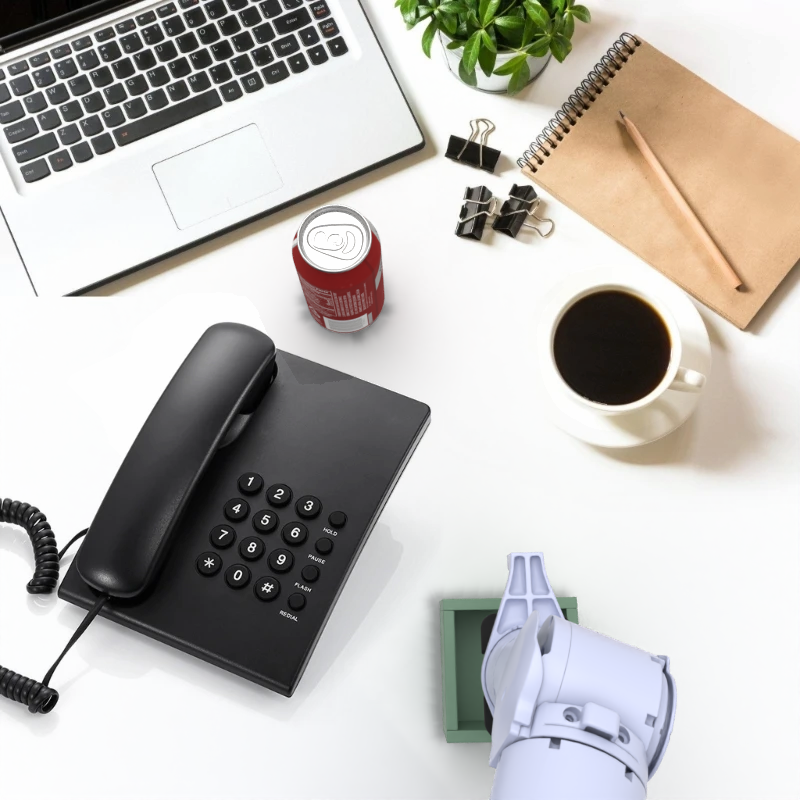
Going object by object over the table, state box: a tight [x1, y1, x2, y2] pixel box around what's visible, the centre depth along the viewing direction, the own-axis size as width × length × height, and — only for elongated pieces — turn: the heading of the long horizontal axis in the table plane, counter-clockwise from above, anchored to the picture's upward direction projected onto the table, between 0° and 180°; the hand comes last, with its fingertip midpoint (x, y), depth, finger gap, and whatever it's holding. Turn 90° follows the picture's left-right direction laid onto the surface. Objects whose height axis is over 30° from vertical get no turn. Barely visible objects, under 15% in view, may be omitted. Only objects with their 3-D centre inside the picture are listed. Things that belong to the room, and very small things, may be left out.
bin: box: [439, 596, 580, 744], centre depth 59 cm, size 10×10×6 cm
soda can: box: [291, 203, 386, 335], centre depth 65 cm, size 7×7×12 cm
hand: (513, 668), depth 56 cm, fingers closed
